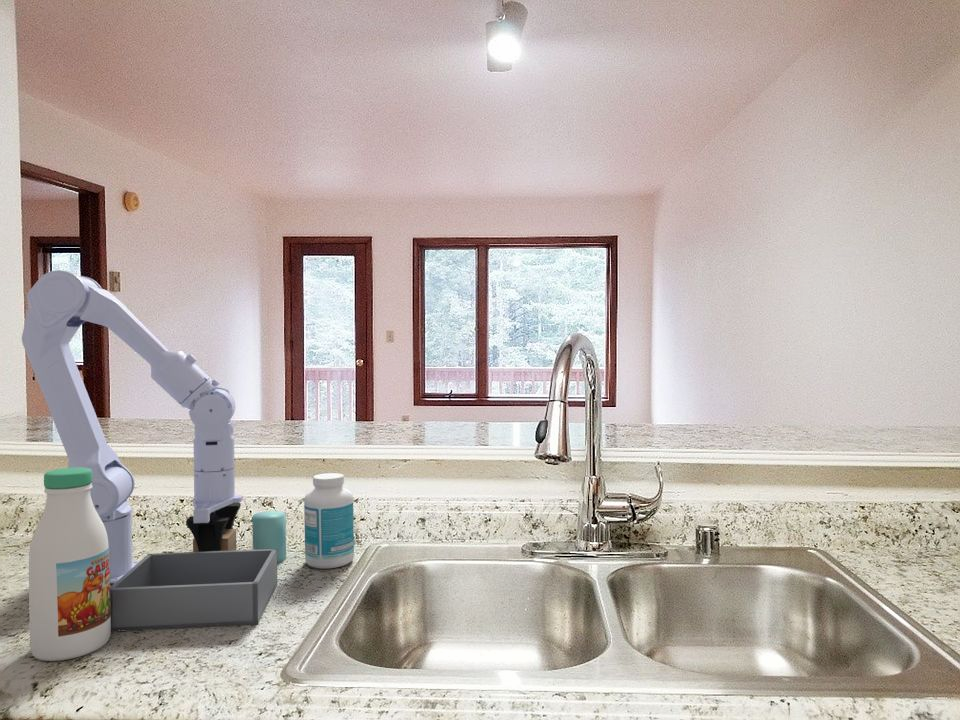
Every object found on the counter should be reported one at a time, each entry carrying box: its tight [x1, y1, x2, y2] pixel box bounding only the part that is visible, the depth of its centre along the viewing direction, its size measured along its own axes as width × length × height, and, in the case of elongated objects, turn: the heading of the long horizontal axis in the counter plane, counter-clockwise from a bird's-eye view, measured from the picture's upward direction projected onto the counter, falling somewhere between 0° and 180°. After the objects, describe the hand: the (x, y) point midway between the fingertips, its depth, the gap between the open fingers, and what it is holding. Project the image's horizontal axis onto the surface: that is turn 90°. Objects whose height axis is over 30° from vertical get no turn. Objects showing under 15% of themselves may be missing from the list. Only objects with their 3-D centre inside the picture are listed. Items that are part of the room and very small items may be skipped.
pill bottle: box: [303, 472, 355, 570], centre depth 102 cm, size 8×7×14 cm
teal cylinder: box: [251, 510, 287, 564], centre depth 103 cm, size 5×5×7 cm
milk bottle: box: [28, 467, 112, 662], centre depth 74 cm, size 8×8×20 cm
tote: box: [110, 549, 278, 632], centre depth 85 cm, size 17×13×5 cm
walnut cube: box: [192, 528, 237, 552], centre depth 100 cm, size 5×5×5 cm
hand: (215, 557), depth 100 cm, fingers closed on walnut cube, 5 cm apart
